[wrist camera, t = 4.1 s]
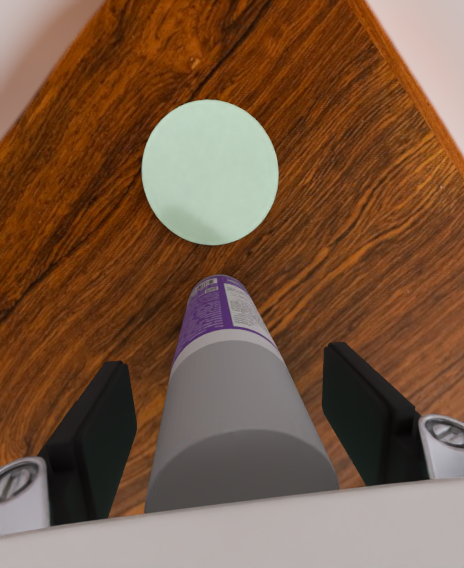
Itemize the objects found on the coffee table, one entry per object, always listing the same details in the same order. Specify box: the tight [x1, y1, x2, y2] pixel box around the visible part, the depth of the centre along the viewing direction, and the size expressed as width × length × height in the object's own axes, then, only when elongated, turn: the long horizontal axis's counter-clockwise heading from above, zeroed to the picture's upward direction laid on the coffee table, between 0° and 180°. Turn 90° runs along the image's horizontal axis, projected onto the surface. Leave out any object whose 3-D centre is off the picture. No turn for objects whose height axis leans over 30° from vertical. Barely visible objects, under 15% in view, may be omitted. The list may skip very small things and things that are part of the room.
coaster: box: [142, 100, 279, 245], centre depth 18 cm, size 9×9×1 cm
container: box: [144, 275, 340, 514], centre depth 13 cm, size 5×5×15 cm
